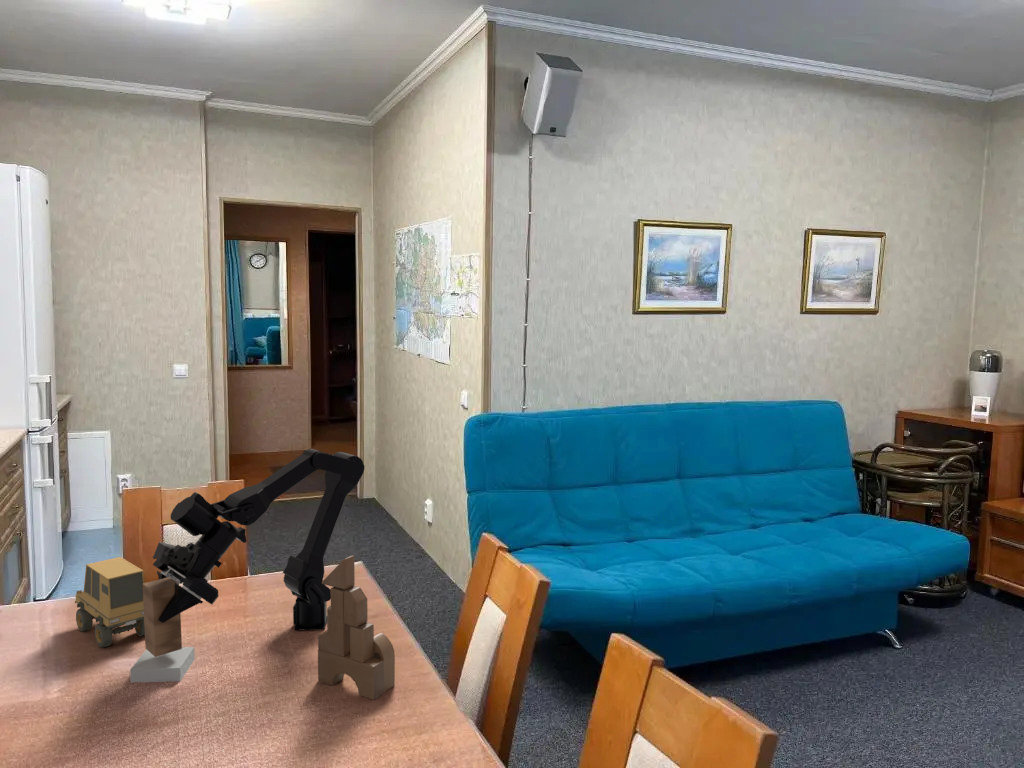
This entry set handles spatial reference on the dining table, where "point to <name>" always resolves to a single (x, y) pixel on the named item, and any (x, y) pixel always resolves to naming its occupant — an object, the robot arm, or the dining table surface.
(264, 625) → the dining table surface
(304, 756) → the dining table surface
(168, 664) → the grey block
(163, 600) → the walnut block
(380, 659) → the wooden toy
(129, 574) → the toy car
